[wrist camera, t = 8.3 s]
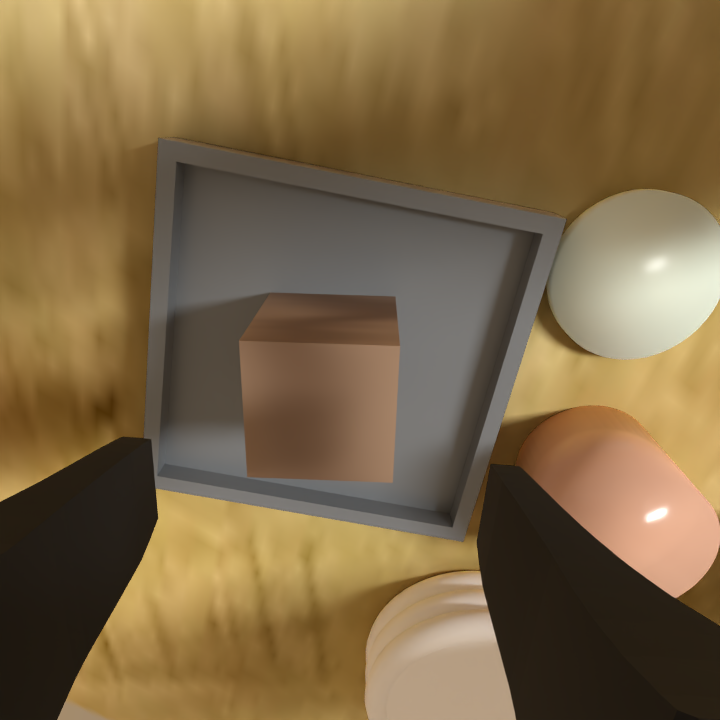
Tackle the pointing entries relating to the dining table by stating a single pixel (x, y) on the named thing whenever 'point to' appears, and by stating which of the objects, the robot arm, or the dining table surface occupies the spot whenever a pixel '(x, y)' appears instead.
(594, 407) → the peach capsule shape
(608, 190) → the dining table surface
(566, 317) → the white rounded disc
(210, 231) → the tray
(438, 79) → the dining table surface
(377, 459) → the block
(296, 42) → the dining table surface
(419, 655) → the cream round disc
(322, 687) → the dining table surface
